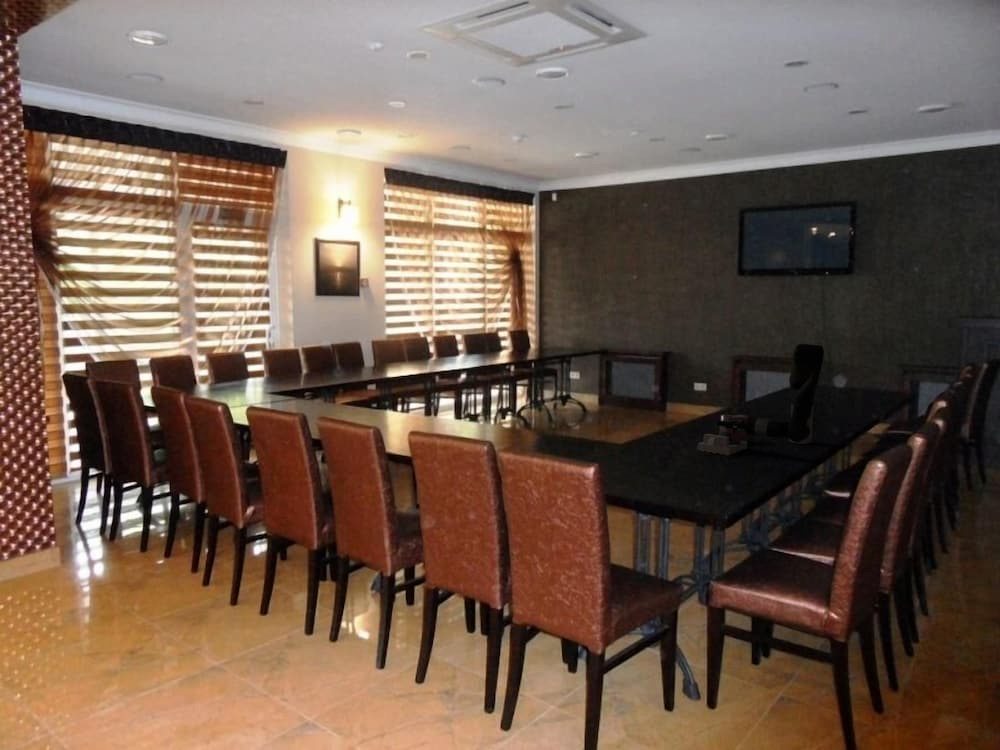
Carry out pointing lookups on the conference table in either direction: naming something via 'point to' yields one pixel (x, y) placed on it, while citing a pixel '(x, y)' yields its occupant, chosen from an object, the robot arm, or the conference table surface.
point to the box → (739, 433)
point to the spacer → (724, 430)
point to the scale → (721, 444)
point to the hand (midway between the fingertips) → (720, 421)
